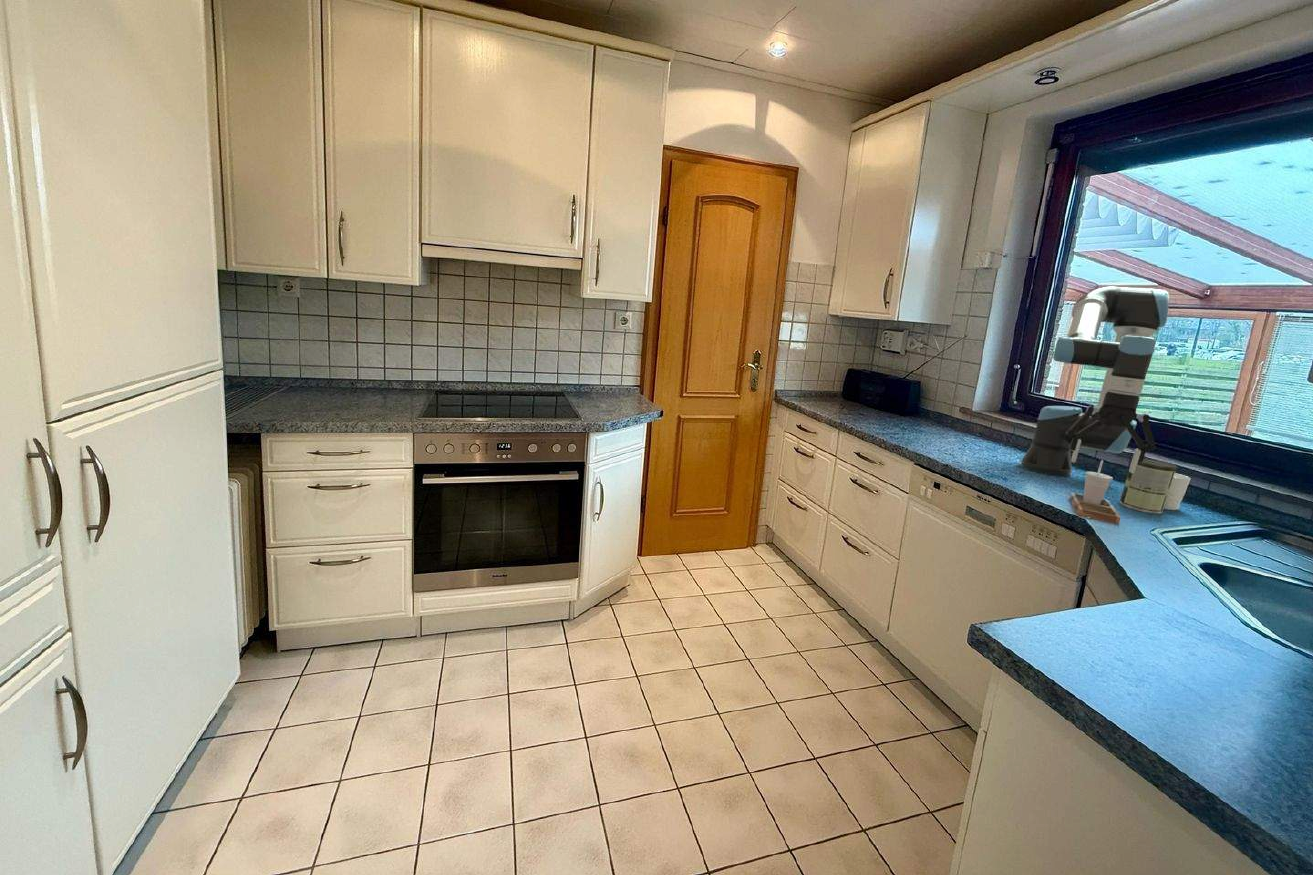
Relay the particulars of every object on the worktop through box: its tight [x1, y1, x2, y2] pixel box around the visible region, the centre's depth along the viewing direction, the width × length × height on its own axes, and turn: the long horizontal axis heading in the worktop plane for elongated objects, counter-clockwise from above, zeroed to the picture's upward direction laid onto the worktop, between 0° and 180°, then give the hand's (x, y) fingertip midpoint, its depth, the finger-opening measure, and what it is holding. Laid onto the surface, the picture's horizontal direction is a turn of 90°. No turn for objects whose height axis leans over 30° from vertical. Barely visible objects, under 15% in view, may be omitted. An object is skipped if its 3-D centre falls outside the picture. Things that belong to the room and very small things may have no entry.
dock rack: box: [1068, 492, 1122, 525], centre depth 164 cm, size 18×9×2 cm, turn 151°
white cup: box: [1163, 472, 1191, 511], centre depth 175 cm, size 8×8×10 cm
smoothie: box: [1083, 459, 1114, 505], centre depth 166 cm, size 6×6×14 cm
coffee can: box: [1119, 457, 1178, 515], centre depth 171 cm, size 10×10×14 cm
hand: (1101, 466), depth 165 cm, fingers open, 13 cm apart
